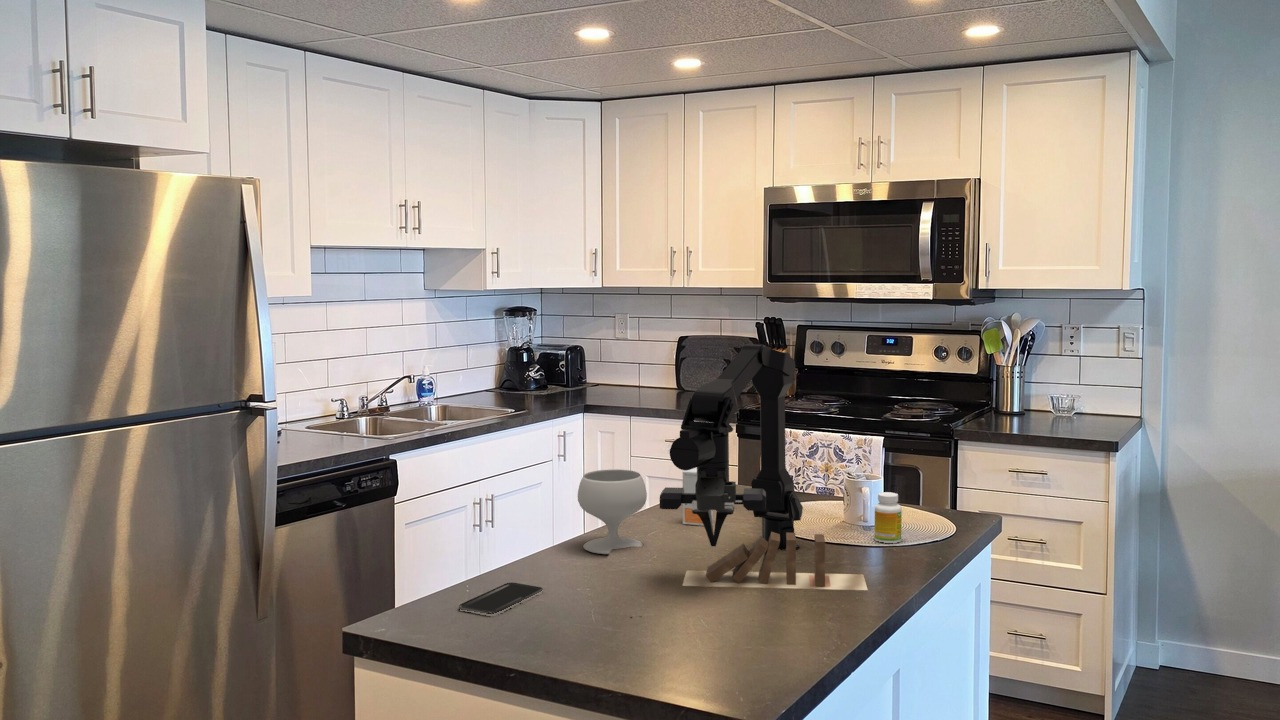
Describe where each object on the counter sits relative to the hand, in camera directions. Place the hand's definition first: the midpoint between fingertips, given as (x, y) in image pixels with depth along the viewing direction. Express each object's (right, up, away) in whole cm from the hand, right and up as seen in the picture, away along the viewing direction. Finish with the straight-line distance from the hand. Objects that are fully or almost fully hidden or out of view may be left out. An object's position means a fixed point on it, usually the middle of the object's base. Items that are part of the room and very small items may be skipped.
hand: (713, 546), depth 189 cm
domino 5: (+19, -6, -3) cm, 20 cm away
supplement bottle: (+38, -4, +27) cm, 47 cm away
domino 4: (+14, -6, -1) cm, 15 cm away
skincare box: (0, -3, +44) cm, 44 cm away
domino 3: (+9, -6, -1) cm, 10 cm away
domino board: (+11, -7, -1) cm, 13 cm away
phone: (-37, -9, -7) cm, 39 cm away
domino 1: (-1, -5, +1) cm, 5 cm away
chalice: (-19, -5, +25) cm, 32 cm away
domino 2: (+4, -5, 0) cm, 7 cm away
